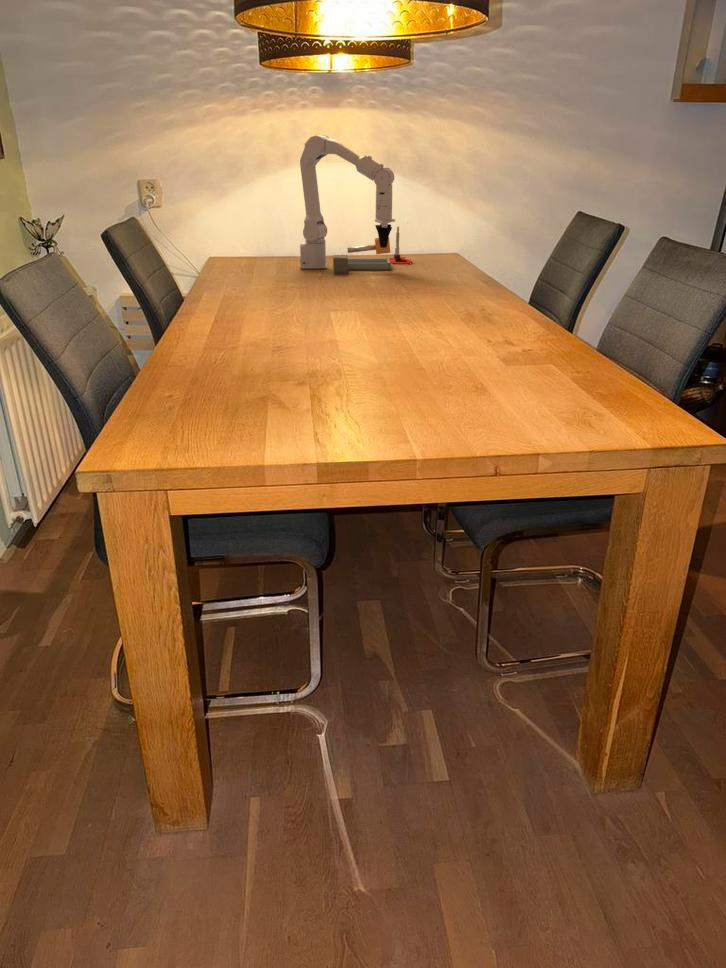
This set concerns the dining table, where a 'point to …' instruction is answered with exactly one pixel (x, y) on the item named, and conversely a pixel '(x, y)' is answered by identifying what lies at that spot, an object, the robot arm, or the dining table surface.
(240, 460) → the dining table surface
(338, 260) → the block
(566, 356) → the dining table surface
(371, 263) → the tray
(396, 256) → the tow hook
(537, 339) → the dining table surface
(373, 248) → the hitch pin
